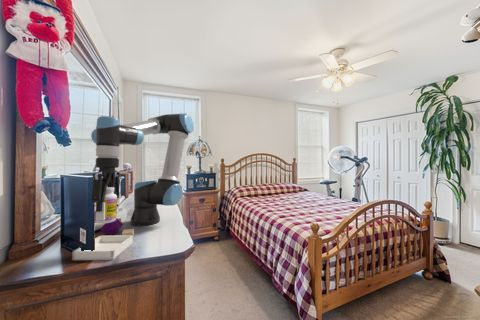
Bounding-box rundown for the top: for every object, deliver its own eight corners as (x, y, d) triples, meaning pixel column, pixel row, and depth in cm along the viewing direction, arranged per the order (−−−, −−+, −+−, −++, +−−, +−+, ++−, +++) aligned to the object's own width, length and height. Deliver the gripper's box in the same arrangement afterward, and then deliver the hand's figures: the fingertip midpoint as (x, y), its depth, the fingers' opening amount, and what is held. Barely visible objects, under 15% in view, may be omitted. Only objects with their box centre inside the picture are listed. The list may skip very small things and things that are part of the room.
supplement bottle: (106, 224, 76) (107, 189, 76) (91, 223, 77) (92, 188, 77) (120, 219, 82) (121, 187, 83) (106, 218, 84) (106, 186, 84)
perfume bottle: (106, 231, 101) (106, 194, 101) (123, 230, 103) (123, 194, 103) (99, 237, 94) (100, 197, 94) (118, 235, 96) (119, 196, 96)
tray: (100, 242, 87) (100, 235, 87) (133, 242, 88) (133, 235, 88) (72, 260, 72) (72, 251, 72) (113, 259, 72) (113, 251, 72)
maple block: (123, 238, 92) (123, 229, 92) (133, 238, 93) (133, 229, 93) (121, 242, 88) (121, 232, 88) (132, 241, 90) (132, 231, 90)
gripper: (111, 157, 90) (110, 211, 89) (79, 156, 70) (77, 225, 70) (129, 158, 90) (128, 211, 90) (102, 156, 71) (100, 225, 70)
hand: (106, 217), depth 80 cm, fingers closed on supplement bottle, 7 cm apart
